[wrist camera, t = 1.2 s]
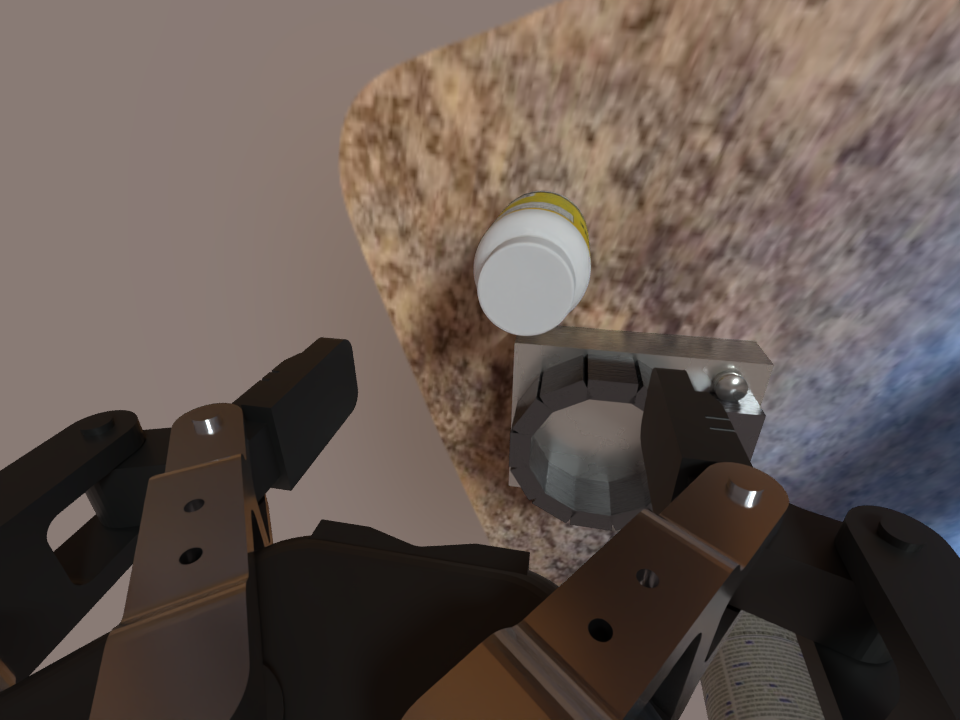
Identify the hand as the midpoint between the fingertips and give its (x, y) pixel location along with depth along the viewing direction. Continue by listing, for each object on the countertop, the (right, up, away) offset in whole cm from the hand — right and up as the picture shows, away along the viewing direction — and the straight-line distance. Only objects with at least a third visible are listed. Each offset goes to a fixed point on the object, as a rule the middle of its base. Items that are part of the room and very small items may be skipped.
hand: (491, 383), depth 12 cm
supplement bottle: (+3, +8, +15) cm, 17 cm away
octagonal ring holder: (+9, -3, +19) cm, 21 cm away
